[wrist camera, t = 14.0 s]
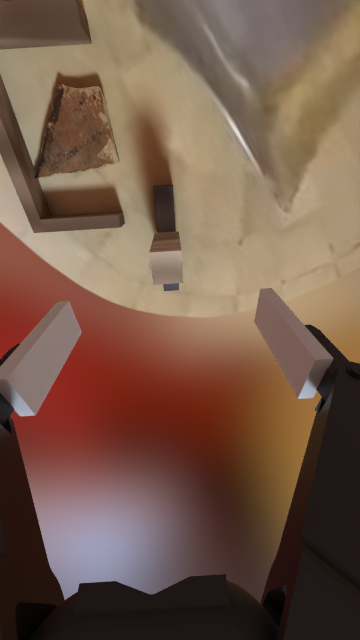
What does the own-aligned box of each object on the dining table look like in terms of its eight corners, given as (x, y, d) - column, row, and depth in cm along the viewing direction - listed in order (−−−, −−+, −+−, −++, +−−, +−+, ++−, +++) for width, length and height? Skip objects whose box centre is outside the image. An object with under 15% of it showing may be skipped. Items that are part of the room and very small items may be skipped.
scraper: (151, 186, 28) (141, 190, 18) (175, 184, 28) (178, 188, 18) (162, 283, 36) (158, 323, 26) (180, 282, 36) (184, 322, 26)
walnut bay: (-34, 26, 20) (-63, 4, 17) (87, 19, 20) (75, -4, 18) (45, 228, 30) (33, 232, 28) (124, 223, 30) (120, 227, 28)
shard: (40, 178, 27) (33, 179, 26) (5, 95, 23) (-6, 90, 22) (122, 165, 27) (119, 165, 25) (102, 78, 23) (97, 71, 21)
